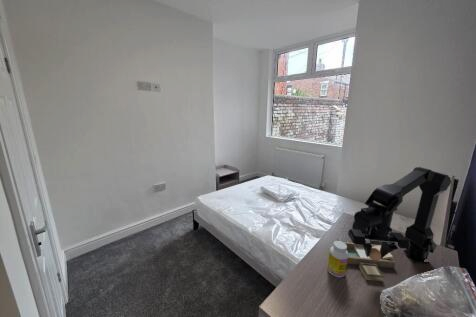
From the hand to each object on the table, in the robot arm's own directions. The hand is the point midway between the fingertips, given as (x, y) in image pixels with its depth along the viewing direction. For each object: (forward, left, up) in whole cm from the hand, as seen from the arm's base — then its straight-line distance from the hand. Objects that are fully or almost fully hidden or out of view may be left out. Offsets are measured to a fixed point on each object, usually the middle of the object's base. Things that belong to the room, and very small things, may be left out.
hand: (373, 256), depth 77 cm
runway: (-2, -10, -8) cm, 13 cm away
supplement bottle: (+13, 0, -9) cm, 15 cm away
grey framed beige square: (0, 0, -8) cm, 8 cm away
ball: (0, 0, +1) cm, 1 cm away
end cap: (-9, -26, -9) cm, 29 cm away
